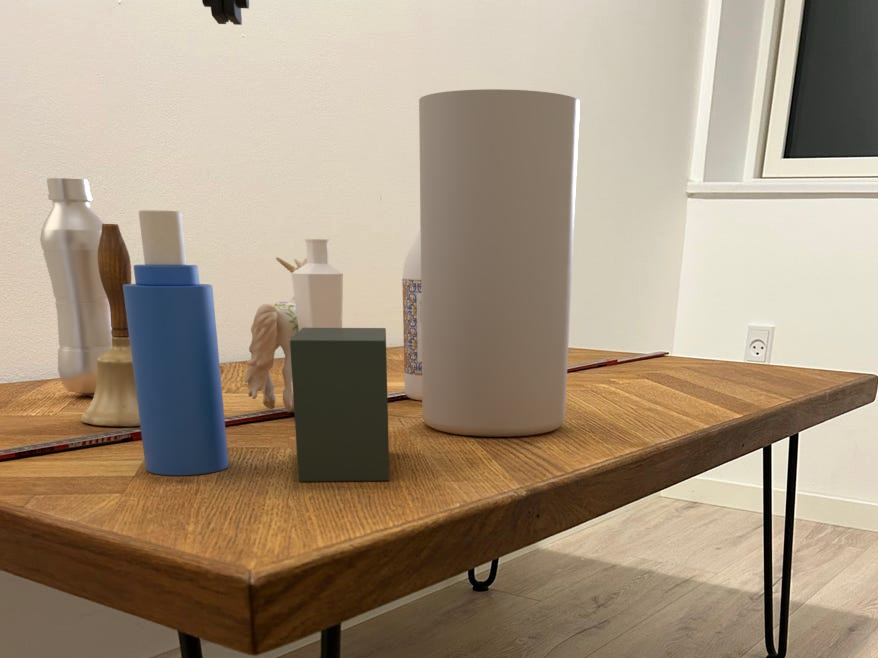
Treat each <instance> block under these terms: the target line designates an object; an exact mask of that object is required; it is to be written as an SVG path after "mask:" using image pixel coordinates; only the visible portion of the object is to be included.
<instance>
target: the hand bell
mask: <svg viewBox="0 0 878 658" xmlns="http://www.w3.org/2000/svg"><path fill="white" fill-rule="evenodd" d="M98 267H99V273H100V278H101V282H102V285H103V288H104V290H105V293H106V295H107V298H108V301H109V306H110V316H111V327H112V330H111V334H112V348H111V349H110V350H109V351H107V352H106V353H105V354H103V355H101V356H99V358H98V360H97V366H98V371H97V386H96V391H95V395H94V396H93V398H92V400H91V402H90V404H89V406H88V408H86V410H85V411H84V412H83V413H82V415H81V417H80V421H81V422H82V423H84V424H88V425H92V426H102V427H140V419H139V411H138V403H137V395H136V387H135V379H134V371H133V363H132V355H131V347H130V339H129V331H128V323H127V316H126V308H125V300H124V292H123V285H125V284H132V265H131V257H130V253H129V250H128V248H127V245H126V242H125V240H124V238H123V235H122V233H121V230H120V226H119V224H117V223H104V224H102V232H101V237H100V241H99V247H98Z"/></svg>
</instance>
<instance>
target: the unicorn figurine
mask: <svg viewBox="0 0 878 658" xmlns="http://www.w3.org/2000/svg"><path fill="white" fill-rule="evenodd" d="M275 260H276V261H277V262H279V264H281V265H282V266H283V267H284V268H285V269H286V270H287V271H289V273H290V274H291V273H293V272H294V271H296V270H297V269H299V268H301V267H302V266H304V265H305V264H307V257H306V258H304V259H303V262H301V261H299V260H298V259H296V258H293V262H294V263H295V265H296V266H297V267H295V266H294V265H292V264H291V263H289V262H287V261H286V260H284V259H282V258H281V257H278V256H277V257H276V258H275ZM250 332H251V338H252V339H251V342H250V345H249V347H248V351H249V352H250V354H251V355H250V359H249V360H248V361H247V362H246V365H248V367H247V369H246V372H245V373H246V374H245V376H244V382H245V383H247V390H248V394H247V395H248V397H252V399H253V400H256V398H257V397H258V392H261V393H262V397H263V398H262V404H263V406H264V407H266V408H267V409H271V410H274V409H275V408H276V402H277V401H276V400H277V399H276V395H275V385H274V382H273V380H272V378H271V375H270V371H271V370H272V368H273V367H274V362H275V361H274V360H275V353H276V350H277V349H279V348H280V349H282V351H283V354H284V365H283V368H282V371H281V373H282V378H283V382H284V389H283V391H282V403H283V405H284V408H285V411H286V412H287V414H291V413H294V398H293V382H292V367H291V351H290V340H291V339H292V338H293V337H294V336H295V335H296V334H297V333H298V332H299V328H298V321H297V313H296V305H295V297H294V296H293V298H292V299H291V300H290V301H278V302H274V303H272V304H270V303H264V304H261V305H260V306H258V308H257V310H256V312H255V315H254V317H253V322H252V324H251V327H250Z"/></svg>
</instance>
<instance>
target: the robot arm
mask: <svg viewBox="0 0 878 658" xmlns="http://www.w3.org/2000/svg"><path fill="white" fill-rule="evenodd" d="M201 2H202V5H203V7H205V8H210V12H211V16H212V18H213V19H214V20H215V21H216V22H217V24H218V25H227V23H229V22H230V23H232V24H233V25H235V26H237V25H238V26H242V25H243V22H242V21H243V19H242V9H250V0H201Z"/></svg>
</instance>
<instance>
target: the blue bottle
mask: <svg viewBox="0 0 878 658" xmlns="http://www.w3.org/2000/svg"><path fill="white" fill-rule="evenodd" d="M138 218H139V227H140V235H141V244H142V252H143V263H144V264H134V265H133V274H134V283H131V284H125V285H123V292H124V300H125V308H126V316H127V323H128V331H129V339H130V347H131V355H132V363H133V371H134V379H135V387H136V395H137V403H138V411H139V419H140V426H139V427H140V434H141V442H142V450H143V458H144V459H143V460H144V465H145V470H146V471H147V472H148V473H151V474H155V475H159V476H171V477H172V476H173V477H174V476H179V477H181V476H182V477H183V476H198V475H207V474H212V473H216V472H217V473H218V472H221V471H223V470H226V469H228V467H229V466H230V465H229V452H228V442H227V432H226V431H227V429H226V421H225V419H226V418H225V410H224V400H223V399H224V398H223V387H222V376H221V367H220V356H219V354H220V353H219V345H218V344H219V343H218V334H217V333H218V332H217V323H216V311H215V302H214V301H215V300H214V288H213V284H209V283H207V284H206V283H200V273H199V266H198V265H197V264H187V255H186V244H185V235H184V226H183V225H184V224H183V214H182V211H180V210H162V209H161V210H160V209H158V210H153V209H152V210H151V209H149V210H148V209H146V210H145V209H144V210H143V209H142V210H138Z"/></svg>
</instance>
